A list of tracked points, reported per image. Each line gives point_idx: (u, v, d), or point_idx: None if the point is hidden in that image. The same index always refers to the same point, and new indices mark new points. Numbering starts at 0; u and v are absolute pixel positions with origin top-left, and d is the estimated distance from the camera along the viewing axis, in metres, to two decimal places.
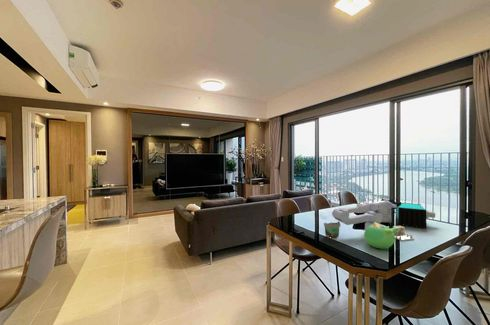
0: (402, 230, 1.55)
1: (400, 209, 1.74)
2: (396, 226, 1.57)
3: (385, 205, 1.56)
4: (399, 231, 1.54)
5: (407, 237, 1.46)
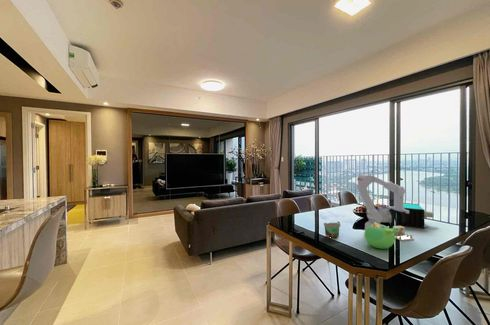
0: (402, 230, 1.55)
1: None
2: (396, 226, 1.57)
3: (402, 205, 1.54)
4: (399, 231, 1.54)
5: (407, 237, 1.46)
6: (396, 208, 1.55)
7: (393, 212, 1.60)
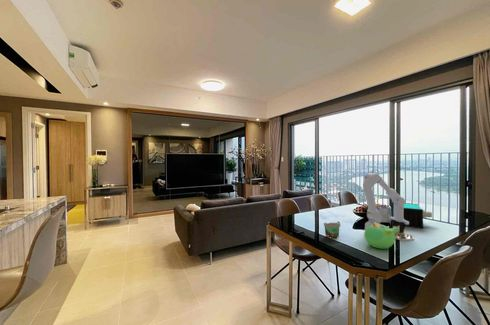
0: None
1: None
2: (396, 226, 1.57)
3: (402, 215, 1.54)
4: (399, 231, 1.54)
5: (407, 237, 1.46)
6: (396, 219, 1.55)
7: (395, 223, 1.58)
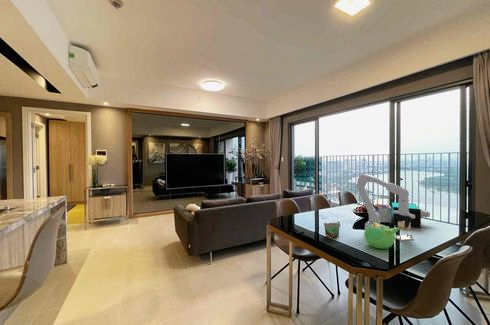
0: None
1: (395, 208, 1.76)
2: (401, 221, 1.48)
3: (407, 209, 1.44)
4: (404, 226, 1.45)
5: (407, 237, 1.46)
6: (401, 212, 1.45)
7: (399, 217, 1.49)
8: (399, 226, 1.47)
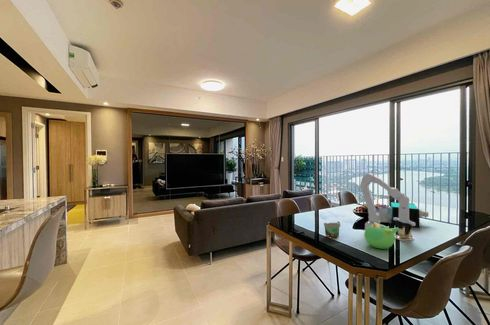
0: None
1: (394, 208, 1.76)
2: (402, 228, 1.47)
3: (407, 216, 1.43)
4: (405, 234, 1.44)
5: None
6: (401, 220, 1.45)
7: (400, 224, 1.48)
8: (399, 233, 1.46)
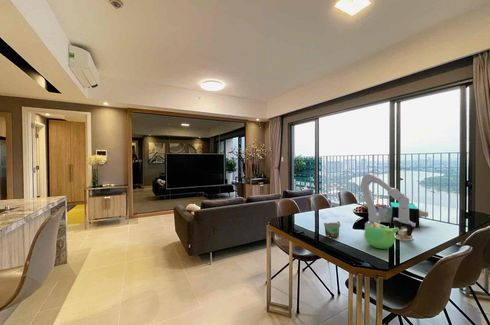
0: None
1: (394, 208, 1.76)
2: (401, 229, 1.47)
3: (407, 217, 1.43)
4: (405, 234, 1.44)
5: None
6: (401, 220, 1.45)
7: (398, 224, 1.49)
8: (399, 234, 1.46)
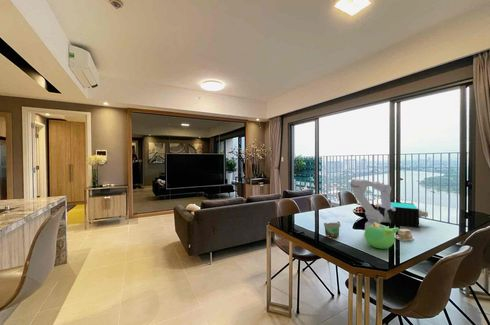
0: (408, 233, 1.44)
1: None
2: (401, 229, 1.47)
3: (389, 202, 1.58)
4: (405, 234, 1.44)
5: None
6: (383, 206, 1.59)
7: (381, 209, 1.64)
8: (399, 234, 1.46)
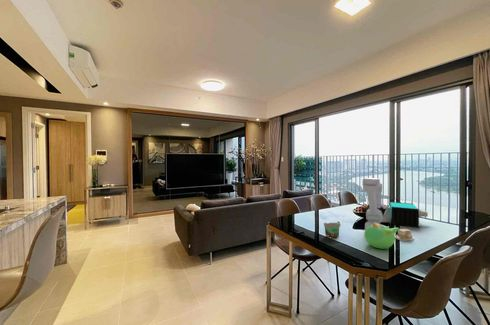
0: (408, 233, 1.44)
1: (393, 208, 1.76)
2: (401, 229, 1.47)
3: (380, 200, 1.64)
4: (405, 234, 1.44)
5: None
6: None
7: None
8: (399, 234, 1.46)
